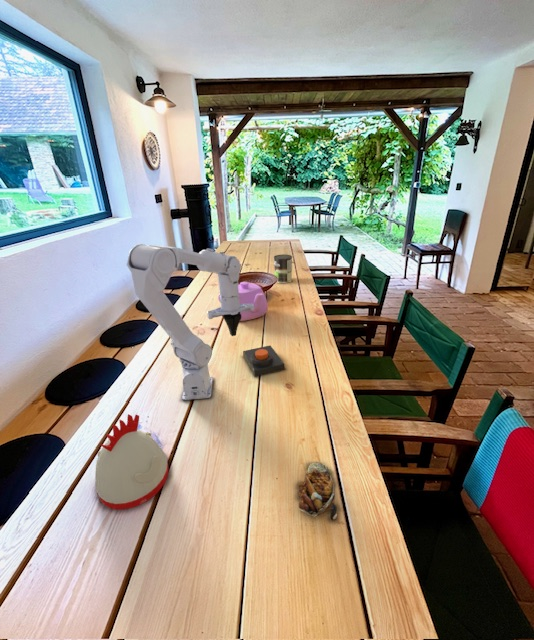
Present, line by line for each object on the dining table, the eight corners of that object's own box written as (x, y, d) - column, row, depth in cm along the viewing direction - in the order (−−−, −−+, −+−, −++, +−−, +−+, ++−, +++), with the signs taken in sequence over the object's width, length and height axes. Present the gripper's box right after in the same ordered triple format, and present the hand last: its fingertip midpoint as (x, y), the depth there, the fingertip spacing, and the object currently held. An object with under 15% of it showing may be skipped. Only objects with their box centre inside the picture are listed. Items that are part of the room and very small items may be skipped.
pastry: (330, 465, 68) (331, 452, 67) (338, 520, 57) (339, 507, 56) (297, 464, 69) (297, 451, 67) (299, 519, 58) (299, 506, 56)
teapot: (213, 315, 144) (209, 283, 137) (254, 305, 153) (252, 274, 147) (236, 334, 126) (232, 298, 119) (281, 321, 135) (280, 287, 129)
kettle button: (269, 358, 102) (269, 353, 101) (257, 361, 100) (257, 356, 100) (265, 352, 105) (265, 348, 104) (253, 355, 104) (253, 350, 103)
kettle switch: (284, 369, 102) (284, 358, 100) (254, 376, 99) (254, 365, 98) (270, 350, 113) (270, 340, 112) (243, 356, 110) (242, 346, 109)
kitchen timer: (182, 467, 69) (171, 412, 63) (128, 522, 59) (108, 462, 52) (139, 443, 76) (124, 392, 70) (83, 489, 65) (61, 433, 59)
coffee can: (279, 284, 180) (278, 259, 174) (271, 279, 189) (270, 255, 183) (295, 281, 184) (295, 257, 178) (286, 276, 192) (286, 253, 187)
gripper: (209, 303, 91) (214, 345, 97) (256, 294, 97) (258, 334, 102) (203, 295, 97) (208, 335, 103) (248, 287, 102) (250, 326, 108)
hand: (233, 334), depth 103 cm, fingers closed
